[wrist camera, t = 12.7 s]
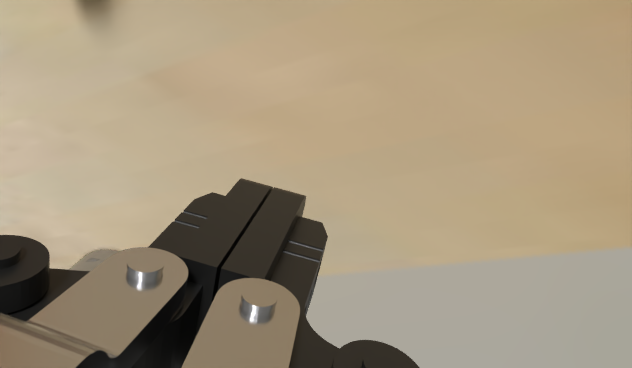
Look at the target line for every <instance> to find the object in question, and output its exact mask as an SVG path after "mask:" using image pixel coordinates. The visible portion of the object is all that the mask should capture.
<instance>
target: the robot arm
mask: <svg viewBox="0 0 632 368" xmlns="http://www.w3.org/2000/svg"><path fill="white" fill-rule="evenodd" d="M305 200H306V196H304V195H301V194H297V193H293V192H290V191H286V190H282V189H279V188H275V187H274V188H273V187H271V186H267V185H264V184H260V183H256V182H253V181H249V180H245V179H242V178H241V179H240V180H239V181H238V182H237V183H236V184H235V185H234V187H233V188H232V189H231V190H230V191H229V193H228V194H227V195H226V196H223V195H220V194H216V193H213V192H212V193H210V194H207V195H205V196H202V197H199V198H197V199H194V200H193V201H192V202H191V203H190V205H189V206H188V207H187V208H186V209H185V210H184V212H183V213H181V214H180V215H179V216H178V217H177V218H176V219H175V222H172V223H171V224H170V225H169V226H168V227H167V228H166V229H165V230H164V231H163V232H162V233H161V234H160V236H159V237H158V238H157V239H156V240H155V241H154V242H153V243H152V244H151V245H150V246H149V247H148V248H147V247H142V248H131V249H126V250H122V251H115V250H97V251H93V252H91V253H89V254H87V255H85V256H84V257H83V258H82V259H80V260H79V261H78V262H77V263H76V264H75V265H73V266H72V267H71V268H70V269H69V270H64V269H50V268H49V252H48V250H47V248H46V247H45V246H44V245H43V244H41V243H40V242H38V241H36V240H34V239H31V238H27V237H22V236H15V235H0V368H419V367H418V365H417V364H416V363H415V362H414V361H413V360H412V359H411V358H409V356H407V355H406V354H405V353H403V352H402V351H400V350H398V349H397V348H394V347H393V346H390V345H388V344H385V343H382V342H378V341H372V340H358V341H353V342H350V343H348V344H346V345H344V346H343V347H341V348H340V349H339V348H337V347H335V346H334V345H332V344H330V343H329V342H327V341H326V340H324V339H323V338H322V337H320V336H319V335H318V334H317V333H316V332H315V331H314V330H313V329H312V327H311V326H310V325H309V323H308V321H307V319H306V314H307V311H308V308H309V305H310V301H311V298H312V295H313V292H314V288H315V284H316V280H317V276H318V272H319V269H320V265H321V261H322V257H323V253H324V249H325V245H326V241H327V237H328V236H327V233H326V231H325V228H324V226H323V223H321V222H318V221H314V220H310V219H307V218H303V217H302V215H303V210H304V206H305Z"/></svg>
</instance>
